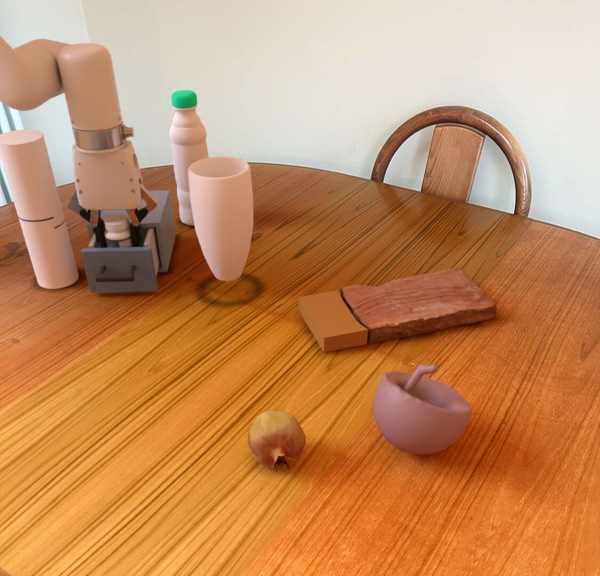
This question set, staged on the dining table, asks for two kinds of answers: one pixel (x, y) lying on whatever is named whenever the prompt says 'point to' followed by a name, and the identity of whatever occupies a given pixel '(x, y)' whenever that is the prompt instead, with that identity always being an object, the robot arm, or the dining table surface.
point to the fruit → (276, 439)
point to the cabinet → (154, 225)
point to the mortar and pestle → (419, 411)
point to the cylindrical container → (38, 207)
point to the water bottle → (186, 146)
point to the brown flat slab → (395, 309)
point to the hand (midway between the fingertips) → (120, 244)
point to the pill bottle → (117, 231)
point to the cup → (222, 213)
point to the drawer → (123, 265)
